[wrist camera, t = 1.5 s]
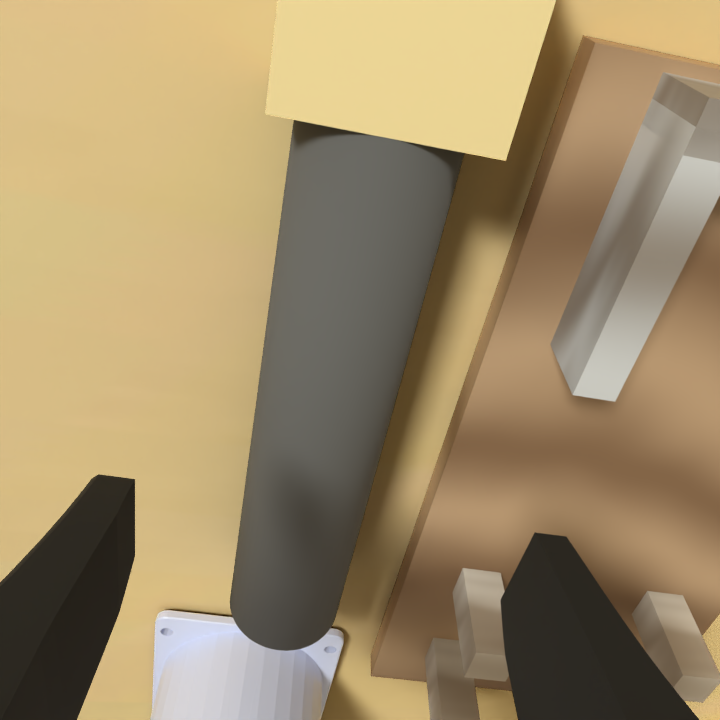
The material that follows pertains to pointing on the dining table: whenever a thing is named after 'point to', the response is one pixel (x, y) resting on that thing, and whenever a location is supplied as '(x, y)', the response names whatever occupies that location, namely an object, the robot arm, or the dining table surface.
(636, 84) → the board
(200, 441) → the dining table surface
